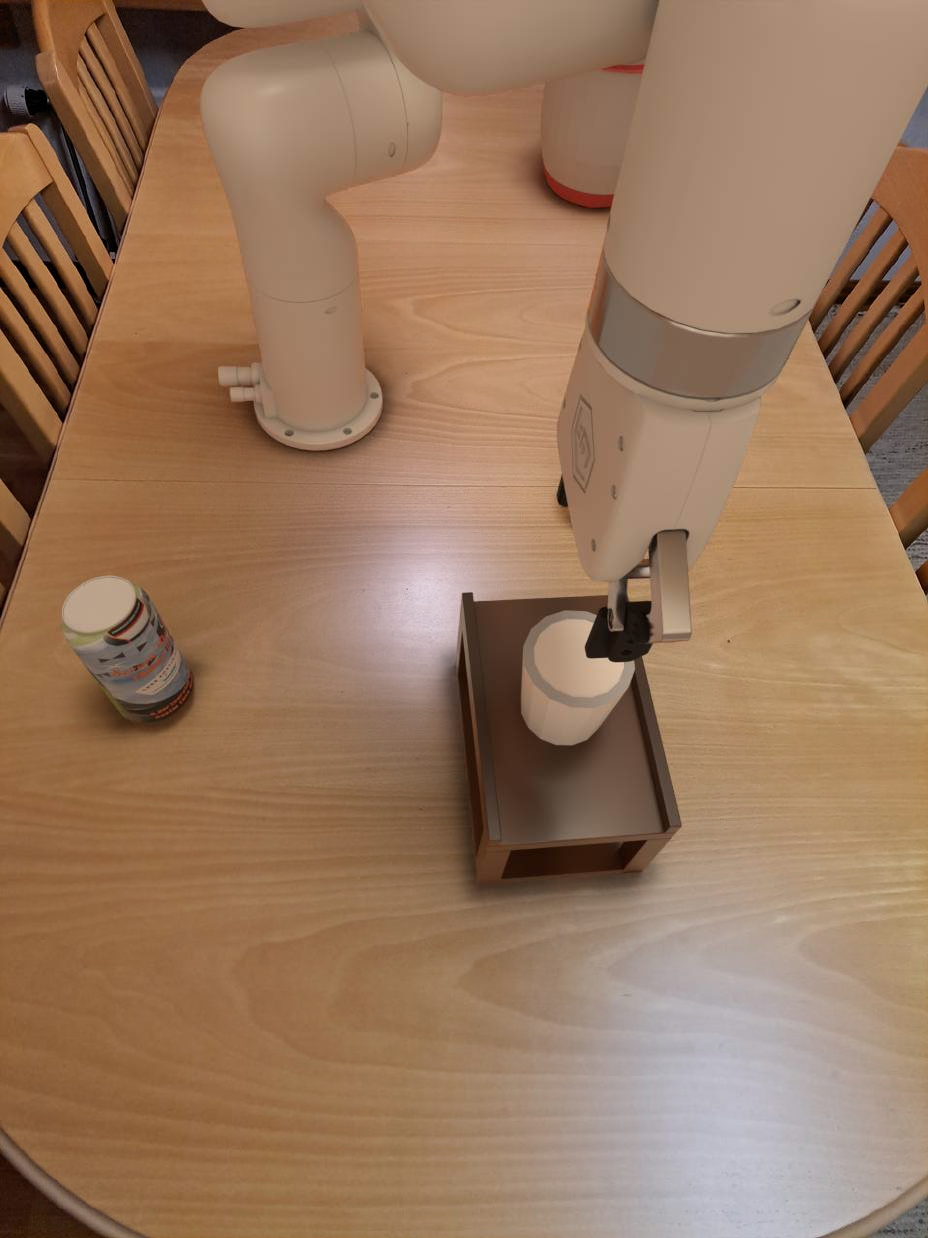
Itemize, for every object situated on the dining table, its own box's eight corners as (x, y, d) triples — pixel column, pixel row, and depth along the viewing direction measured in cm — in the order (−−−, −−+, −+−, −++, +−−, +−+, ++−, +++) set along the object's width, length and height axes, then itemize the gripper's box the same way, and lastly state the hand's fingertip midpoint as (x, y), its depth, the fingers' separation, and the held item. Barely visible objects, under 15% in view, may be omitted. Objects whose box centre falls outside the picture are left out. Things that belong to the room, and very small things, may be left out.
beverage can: (160, 745, 63) (111, 669, 52) (88, 697, 64) (28, 615, 54) (215, 683, 66) (179, 601, 55) (146, 639, 67) (99, 551, 57)
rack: (477, 885, 58) (489, 841, 50) (455, 662, 68) (461, 592, 59) (642, 871, 60) (682, 826, 51) (598, 654, 69) (625, 584, 60)
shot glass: (606, 764, 54) (630, 718, 48) (502, 742, 54) (514, 694, 48) (616, 673, 58) (640, 621, 52) (520, 654, 58) (532, 599, 52)
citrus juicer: (598, 242, 99) (637, 59, 83) (505, 173, 106) (523, -9, 89) (686, 200, 105) (739, 21, 88) (593, 138, 112) (625, -40, 95)
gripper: (558, 165, 34) (510, 453, 48) (640, 497, 25) (552, 725, 40) (734, 168, 35) (635, 450, 49) (875, 490, 26) (703, 717, 40)
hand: (598, 572), depth 44 cm, fingers open, 9 cm apart
